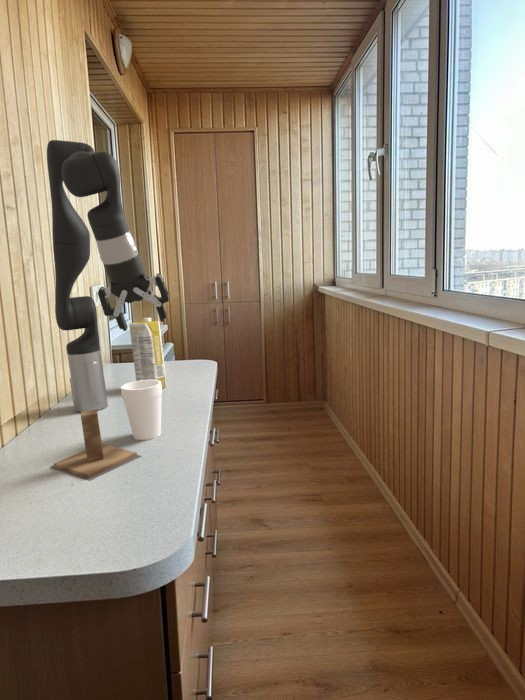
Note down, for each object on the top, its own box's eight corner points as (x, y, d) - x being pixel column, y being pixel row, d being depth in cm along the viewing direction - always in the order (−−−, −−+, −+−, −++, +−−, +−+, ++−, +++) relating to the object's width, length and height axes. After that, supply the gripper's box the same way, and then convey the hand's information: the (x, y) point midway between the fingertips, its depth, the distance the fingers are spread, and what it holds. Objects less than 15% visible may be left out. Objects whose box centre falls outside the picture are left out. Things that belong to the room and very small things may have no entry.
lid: (54, 467, 101) (46, 417, 99) (102, 447, 111) (95, 401, 109) (88, 478, 94) (81, 425, 92) (137, 456, 104) (130, 407, 102)
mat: (49, 468, 101) (49, 467, 101) (101, 447, 112) (101, 445, 112) (90, 482, 93) (89, 480, 93) (142, 457, 104) (141, 455, 104)
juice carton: (170, 386, 164) (162, 316, 159) (153, 393, 157) (144, 319, 153) (150, 384, 169) (142, 316, 164) (133, 390, 162) (124, 319, 158)
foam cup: (157, 444, 111) (150, 389, 109) (120, 444, 113) (113, 390, 111) (173, 429, 120) (167, 379, 118) (138, 429, 122) (132, 380, 120)
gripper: (154, 243, 104) (175, 311, 112) (89, 258, 104) (115, 325, 111) (152, 253, 97) (174, 324, 105) (82, 269, 97) (110, 339, 105)
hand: (144, 324), depth 108 cm, fingers open, 8 cm apart
